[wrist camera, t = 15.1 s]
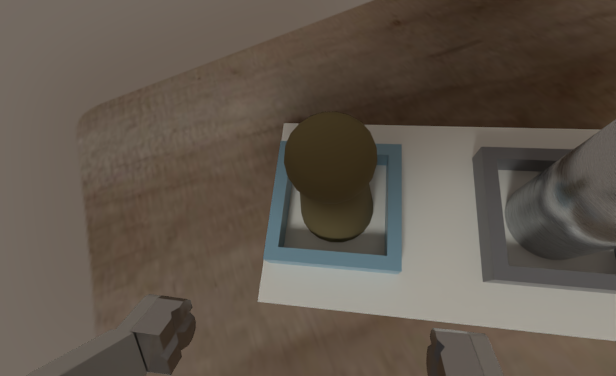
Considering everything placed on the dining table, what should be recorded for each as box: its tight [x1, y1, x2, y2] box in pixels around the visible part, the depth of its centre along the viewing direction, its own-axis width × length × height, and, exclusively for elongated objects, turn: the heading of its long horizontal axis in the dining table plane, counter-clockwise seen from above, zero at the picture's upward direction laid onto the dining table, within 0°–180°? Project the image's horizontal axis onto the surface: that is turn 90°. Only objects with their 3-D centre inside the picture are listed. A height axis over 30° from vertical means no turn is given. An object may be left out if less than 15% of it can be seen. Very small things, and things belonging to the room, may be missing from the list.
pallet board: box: [258, 123, 616, 341], centre depth 25 cm, size 27×16×3 cm, turn 85°
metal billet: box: [505, 119, 616, 260], centre depth 19 cm, size 6×6×11 cm
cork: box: [284, 112, 377, 242], centre depth 21 cm, size 6×6×11 cm
